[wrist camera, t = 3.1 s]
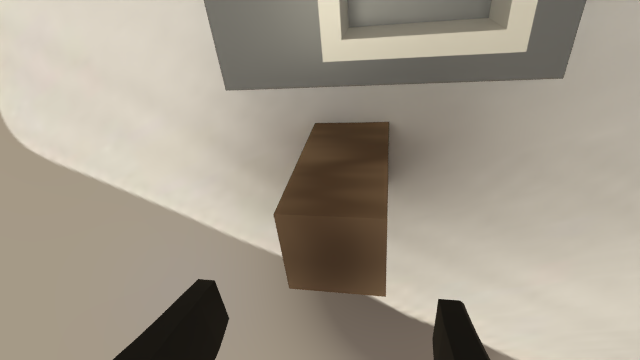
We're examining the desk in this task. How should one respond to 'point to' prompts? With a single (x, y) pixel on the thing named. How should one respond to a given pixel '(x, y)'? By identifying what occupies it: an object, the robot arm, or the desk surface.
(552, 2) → the socket board
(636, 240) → the desk surface
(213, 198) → the desk surface
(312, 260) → the walnut peg
